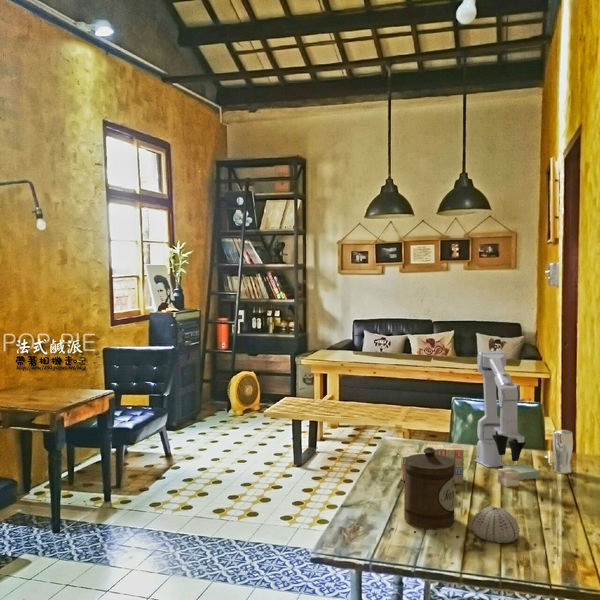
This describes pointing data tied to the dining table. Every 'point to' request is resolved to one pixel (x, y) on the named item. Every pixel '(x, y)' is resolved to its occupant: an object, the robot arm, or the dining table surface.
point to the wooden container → (429, 490)
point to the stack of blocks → (445, 450)
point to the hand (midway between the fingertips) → (508, 457)
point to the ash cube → (508, 477)
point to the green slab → (524, 471)
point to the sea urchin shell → (495, 525)
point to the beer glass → (562, 450)
